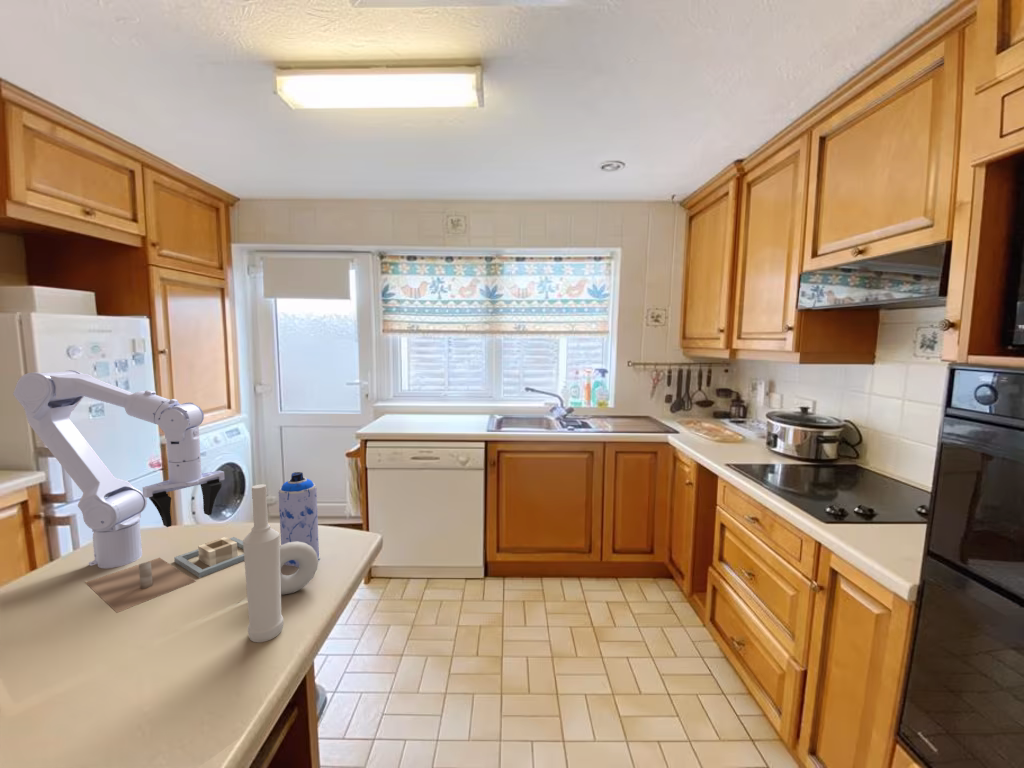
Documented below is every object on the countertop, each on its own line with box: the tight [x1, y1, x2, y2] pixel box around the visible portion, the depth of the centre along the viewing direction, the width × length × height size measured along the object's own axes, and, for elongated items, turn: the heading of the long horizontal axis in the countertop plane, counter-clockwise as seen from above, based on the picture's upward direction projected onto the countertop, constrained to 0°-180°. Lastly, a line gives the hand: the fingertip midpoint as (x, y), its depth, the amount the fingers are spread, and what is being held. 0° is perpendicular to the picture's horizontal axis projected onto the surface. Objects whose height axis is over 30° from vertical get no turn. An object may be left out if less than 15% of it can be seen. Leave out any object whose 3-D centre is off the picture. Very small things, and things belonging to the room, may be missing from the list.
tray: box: [173, 536, 245, 579], centre depth 95 cm, size 12×12×2 cm
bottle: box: [242, 483, 284, 643], centre depth 70 cm, size 5×5×25 cm
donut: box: [280, 541, 319, 595], centre depth 83 cm, size 10×4×10 cm, turn 127°
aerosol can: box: [278, 471, 320, 569], centre depth 95 cm, size 8×8×20 cm
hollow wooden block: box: [197, 536, 239, 567], centre depth 95 cm, size 5×5×4 cm
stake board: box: [84, 557, 197, 613], centre depth 85 cm, size 18×12×6 cm, turn 57°
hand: (188, 519), depth 95 cm, fingers open, 7 cm apart
